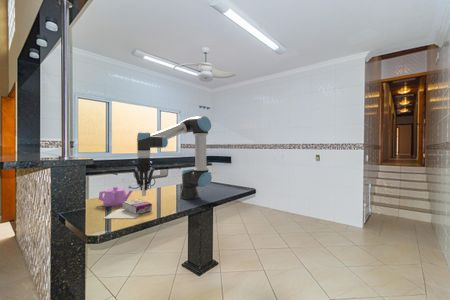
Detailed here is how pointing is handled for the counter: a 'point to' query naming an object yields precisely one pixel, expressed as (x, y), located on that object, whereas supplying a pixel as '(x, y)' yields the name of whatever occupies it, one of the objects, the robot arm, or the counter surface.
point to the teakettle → (114, 196)
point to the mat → (121, 215)
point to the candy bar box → (137, 206)
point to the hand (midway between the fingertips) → (143, 195)
